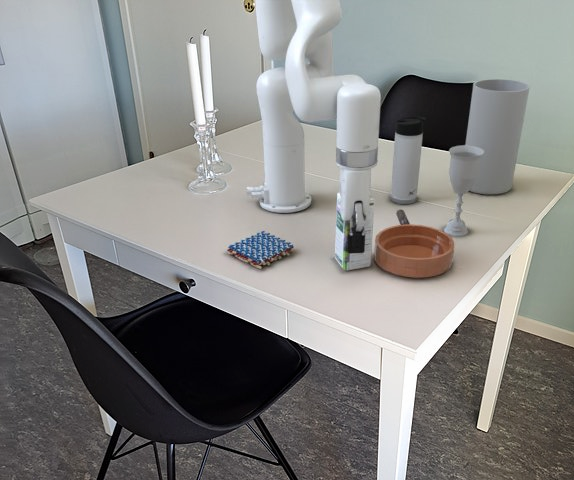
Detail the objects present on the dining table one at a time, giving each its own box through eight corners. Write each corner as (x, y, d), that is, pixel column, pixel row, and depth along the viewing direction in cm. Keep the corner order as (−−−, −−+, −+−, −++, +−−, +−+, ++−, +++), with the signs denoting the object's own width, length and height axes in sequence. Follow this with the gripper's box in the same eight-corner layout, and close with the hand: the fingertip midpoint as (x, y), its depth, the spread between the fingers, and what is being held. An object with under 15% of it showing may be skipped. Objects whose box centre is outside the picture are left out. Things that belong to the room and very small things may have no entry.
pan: (380, 281, 115) (381, 260, 112) (369, 244, 128) (370, 225, 125) (460, 279, 115) (463, 258, 113) (441, 242, 128) (443, 223, 126)
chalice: (449, 221, 137) (459, 143, 127) (477, 229, 133) (489, 149, 124) (433, 232, 132) (442, 152, 123) (462, 241, 128) (474, 159, 119)
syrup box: (333, 258, 123) (335, 191, 115) (360, 254, 124) (363, 187, 117) (344, 271, 118) (346, 202, 111) (372, 266, 120) (376, 198, 112)
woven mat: (224, 254, 126) (223, 245, 125) (262, 237, 132) (262, 229, 131) (258, 271, 119) (257, 262, 118) (296, 252, 125) (296, 243, 124)
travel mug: (417, 205, 145) (425, 122, 134) (389, 203, 146) (395, 121, 135) (418, 195, 150) (425, 114, 140) (391, 194, 151) (396, 113, 141)
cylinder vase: (489, 199, 146) (507, 94, 134) (449, 185, 155) (462, 84, 142) (521, 187, 153) (541, 85, 140) (481, 173, 161) (496, 76, 148)
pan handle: (411, 232, 126) (411, 225, 125) (402, 233, 126) (403, 225, 125) (403, 215, 134) (404, 207, 133) (395, 215, 134) (395, 208, 133)
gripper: (332, 141, 117) (330, 225, 126) (340, 173, 102) (338, 265, 112) (370, 140, 117) (366, 224, 126) (384, 172, 102) (379, 264, 112)
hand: (353, 242), depth 119 cm, fingers open, 7 cm apart
